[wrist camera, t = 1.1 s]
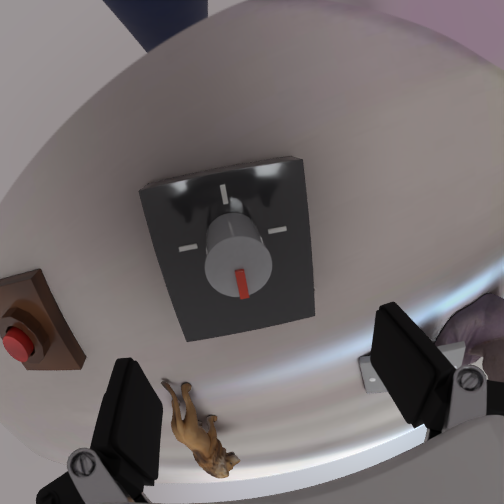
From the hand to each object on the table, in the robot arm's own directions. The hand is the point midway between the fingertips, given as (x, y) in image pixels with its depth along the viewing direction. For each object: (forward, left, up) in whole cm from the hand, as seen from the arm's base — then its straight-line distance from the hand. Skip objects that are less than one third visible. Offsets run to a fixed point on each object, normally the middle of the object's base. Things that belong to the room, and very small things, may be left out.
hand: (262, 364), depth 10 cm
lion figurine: (+24, -9, -16) cm, 30 cm away
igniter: (+6, -25, -16) cm, 30 cm away
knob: (0, 0, -13) cm, 13 cm away
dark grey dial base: (+2, 0, -16) cm, 16 cm away
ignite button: (+6, -25, -12) cm, 28 cm away
